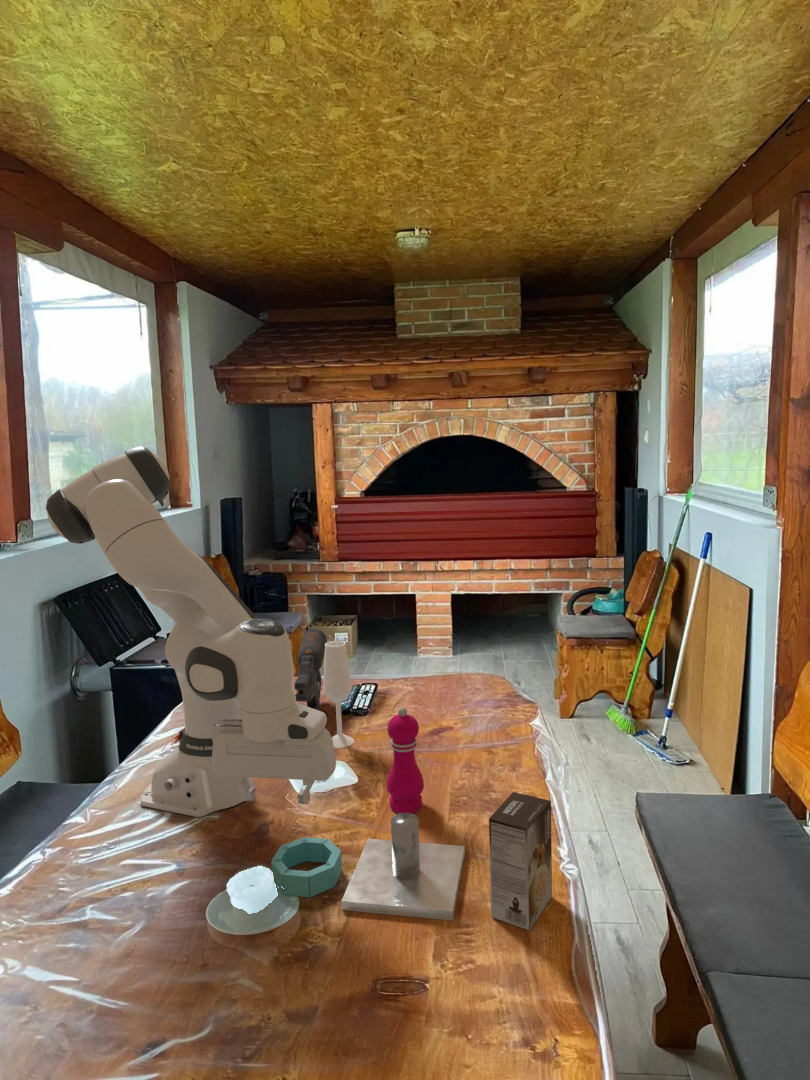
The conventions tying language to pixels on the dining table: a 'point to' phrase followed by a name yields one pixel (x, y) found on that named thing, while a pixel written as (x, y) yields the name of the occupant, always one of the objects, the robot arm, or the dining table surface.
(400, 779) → the pepper mill
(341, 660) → the champagne flute
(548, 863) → the coffee box
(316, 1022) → the dining table surface
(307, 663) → the gun
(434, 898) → the post stand
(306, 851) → the ring
